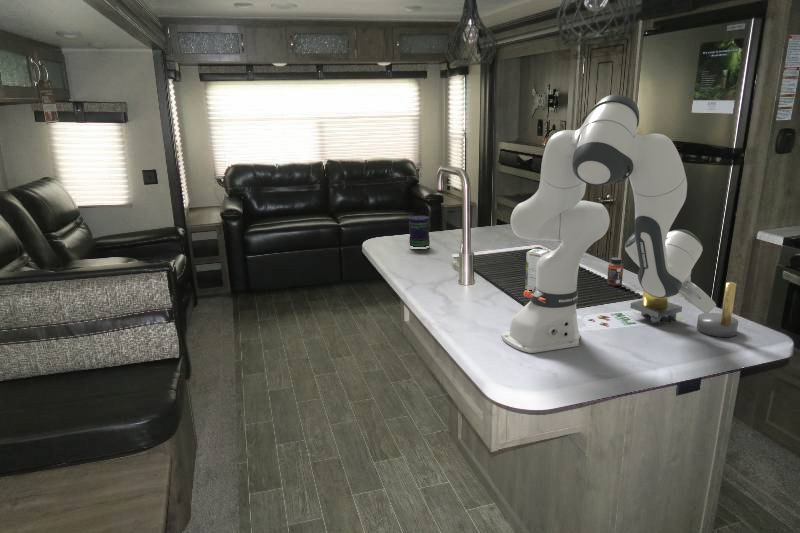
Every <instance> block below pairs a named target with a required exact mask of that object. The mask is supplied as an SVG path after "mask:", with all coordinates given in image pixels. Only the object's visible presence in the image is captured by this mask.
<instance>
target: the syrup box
mask: <svg viewBox="0 0 800 533" xmlns="http://www.w3.org/2000/svg"><path fill="white" fill-rule="evenodd" d="M547 253H549V250H545V249H542V248H533V249H531V250H529V251H526V259H525V260H526V261H525V280H524V281H525V282H524V290H525V289H527V290H532V291H531V292H533V290H534V288H535V286H536V270H537V262H538V260H539V259H540V258H541V257H542V256H543V255H545V254H547Z"/></svg>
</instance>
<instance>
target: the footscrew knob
mask: <svg viewBox="0 0 800 533" xmlns="http://www.w3.org/2000/svg"><path fill="white" fill-rule="evenodd" d="M736 288H737V283H736V282H733V281H726V282H725V288H724V294H723V295H724V297H723V304H722V311H721V313H718V312H709V313H707V314H705V313H704V312H702V313H699V314H698V315H697V320H696V329H697V330H698V331H699V332H700V333H703V334H705V335H709V336H713V337H719V338H720V337H721V338H730V337H734V336H736V335H737V334H738V328H739V320H738V319H737V318H735V317H733V313H734V312H733V311H734V305H735V297H736V290H737V289H736Z"/></svg>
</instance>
